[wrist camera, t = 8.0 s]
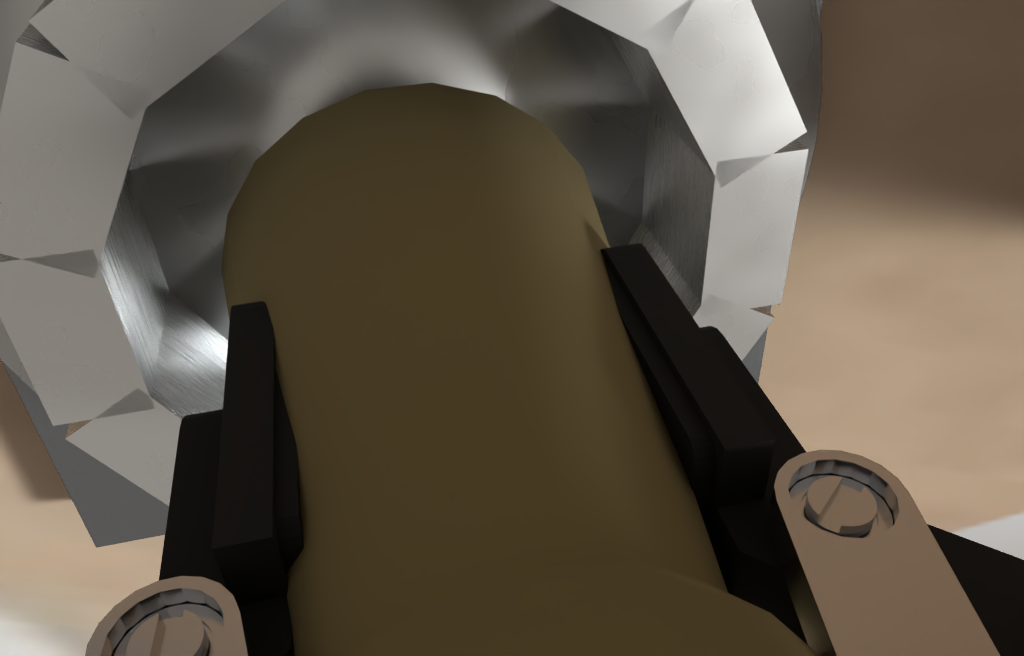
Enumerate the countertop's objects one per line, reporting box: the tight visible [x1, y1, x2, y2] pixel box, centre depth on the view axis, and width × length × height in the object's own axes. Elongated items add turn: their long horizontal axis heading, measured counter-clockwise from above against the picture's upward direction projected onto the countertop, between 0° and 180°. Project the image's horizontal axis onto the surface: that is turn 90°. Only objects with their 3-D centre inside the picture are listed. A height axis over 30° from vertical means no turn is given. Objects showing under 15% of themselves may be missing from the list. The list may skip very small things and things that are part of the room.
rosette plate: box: [0, 0, 823, 547], centre depth 15 cm, size 16×16×5 cm
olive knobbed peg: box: [221, 83, 818, 656], centre depth 9 cm, size 6×6×11 cm
